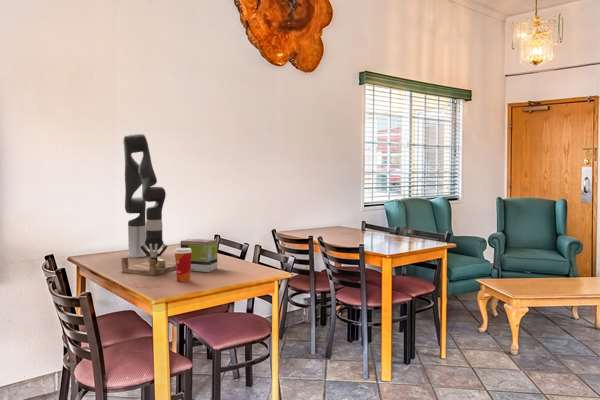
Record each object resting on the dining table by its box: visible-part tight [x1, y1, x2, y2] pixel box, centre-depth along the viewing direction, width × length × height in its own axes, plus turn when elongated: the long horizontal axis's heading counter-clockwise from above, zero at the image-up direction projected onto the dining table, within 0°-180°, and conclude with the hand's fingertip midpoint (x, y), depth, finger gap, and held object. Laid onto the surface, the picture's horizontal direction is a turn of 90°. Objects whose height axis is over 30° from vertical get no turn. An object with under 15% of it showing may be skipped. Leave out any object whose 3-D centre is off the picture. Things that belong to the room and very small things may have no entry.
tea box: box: [180, 237, 218, 273], centre depth 234 cm, size 15×10×15 cm, turn 71°
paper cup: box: [173, 247, 192, 283], centre depth 211 cm, size 8×8×14 cm
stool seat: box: [121, 250, 176, 277], centre depth 233 cm, size 20×19×7 cm
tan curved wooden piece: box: [156, 257, 166, 267], centre depth 235 cm, size 15×2×4 cm, turn 35°
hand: (154, 265), depth 229 cm, fingers closed
